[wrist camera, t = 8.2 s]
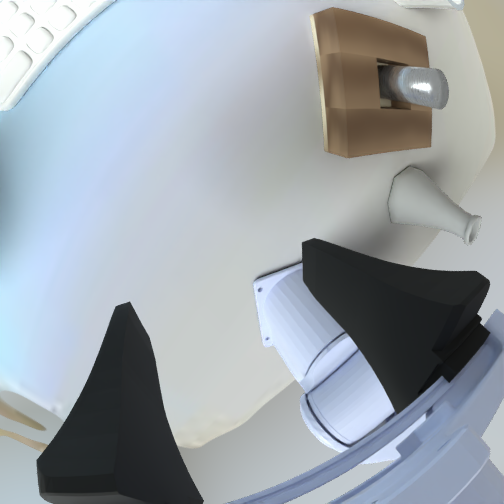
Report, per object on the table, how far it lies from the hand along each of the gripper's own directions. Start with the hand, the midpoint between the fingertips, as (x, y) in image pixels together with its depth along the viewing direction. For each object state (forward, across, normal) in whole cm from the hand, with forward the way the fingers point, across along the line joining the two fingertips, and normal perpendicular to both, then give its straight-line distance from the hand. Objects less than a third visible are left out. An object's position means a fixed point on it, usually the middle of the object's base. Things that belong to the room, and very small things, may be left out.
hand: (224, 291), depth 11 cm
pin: (+10, -18, -8) cm, 22 cm away
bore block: (+10, -18, -8) cm, 22 cm away
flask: (+10, -24, +5) cm, 27 cm away
